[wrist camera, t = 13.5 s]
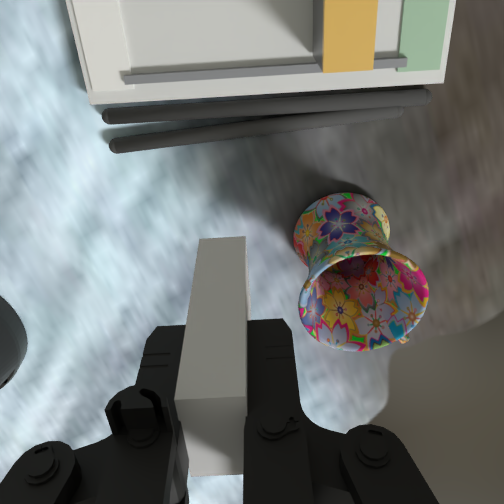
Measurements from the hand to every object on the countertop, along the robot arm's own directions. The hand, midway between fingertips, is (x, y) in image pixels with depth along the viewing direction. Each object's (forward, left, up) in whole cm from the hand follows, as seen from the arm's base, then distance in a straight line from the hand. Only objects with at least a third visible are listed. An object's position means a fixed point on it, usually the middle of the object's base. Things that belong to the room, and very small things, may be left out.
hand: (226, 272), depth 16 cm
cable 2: (+1, -3, -24) cm, 25 cm away
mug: (+9, -14, -25) cm, 30 cm away
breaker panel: (+2, +5, -24) cm, 25 cm away
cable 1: (+2, -1, -24) cm, 24 cm away
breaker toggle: (+7, +5, -23) cm, 24 cm away
